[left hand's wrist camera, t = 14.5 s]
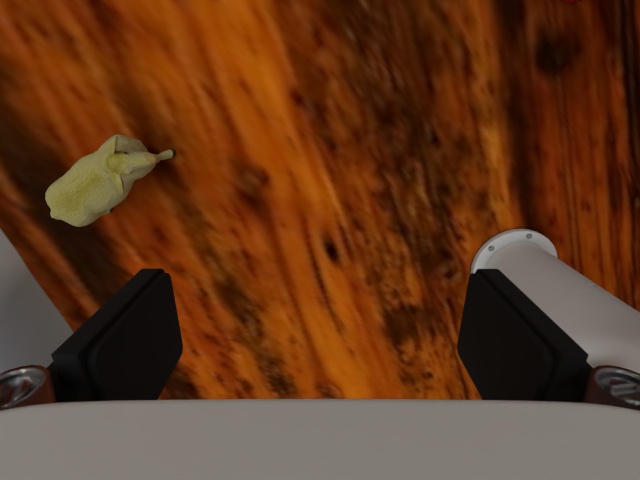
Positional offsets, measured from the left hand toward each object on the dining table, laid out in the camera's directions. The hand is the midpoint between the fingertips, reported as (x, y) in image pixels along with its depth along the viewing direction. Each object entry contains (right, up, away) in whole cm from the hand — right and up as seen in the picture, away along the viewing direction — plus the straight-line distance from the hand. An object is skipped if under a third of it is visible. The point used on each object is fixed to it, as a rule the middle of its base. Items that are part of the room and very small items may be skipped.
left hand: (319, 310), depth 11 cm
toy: (-25, +12, +38) cm, 47 cm away
